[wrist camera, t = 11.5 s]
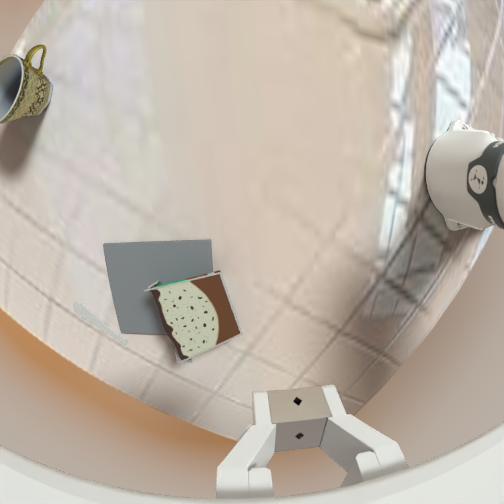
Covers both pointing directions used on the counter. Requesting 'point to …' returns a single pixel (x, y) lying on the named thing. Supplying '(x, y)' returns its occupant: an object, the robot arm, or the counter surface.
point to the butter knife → (96, 321)
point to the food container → (196, 314)
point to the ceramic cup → (23, 87)
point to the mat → (150, 277)
